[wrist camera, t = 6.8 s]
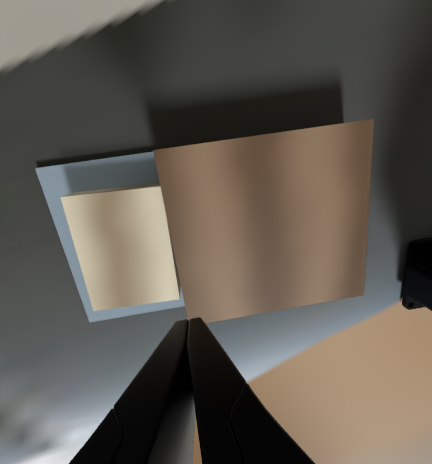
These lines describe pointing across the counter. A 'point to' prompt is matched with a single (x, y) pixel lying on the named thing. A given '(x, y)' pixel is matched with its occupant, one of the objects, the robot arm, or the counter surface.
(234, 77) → the counter surface
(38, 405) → the counter surface
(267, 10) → the counter surface
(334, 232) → the plate
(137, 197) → the tile
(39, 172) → the mat
